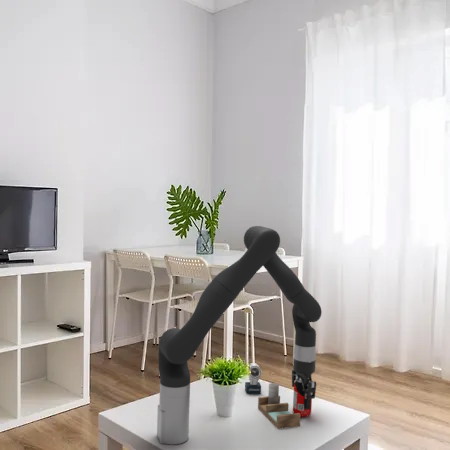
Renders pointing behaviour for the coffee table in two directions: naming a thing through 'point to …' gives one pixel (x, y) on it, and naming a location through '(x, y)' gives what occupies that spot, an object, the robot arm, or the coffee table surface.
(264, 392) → the coffee table surface
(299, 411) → the beverage can
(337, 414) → the coffee table surface
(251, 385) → the watch
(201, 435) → the coffee table surface
